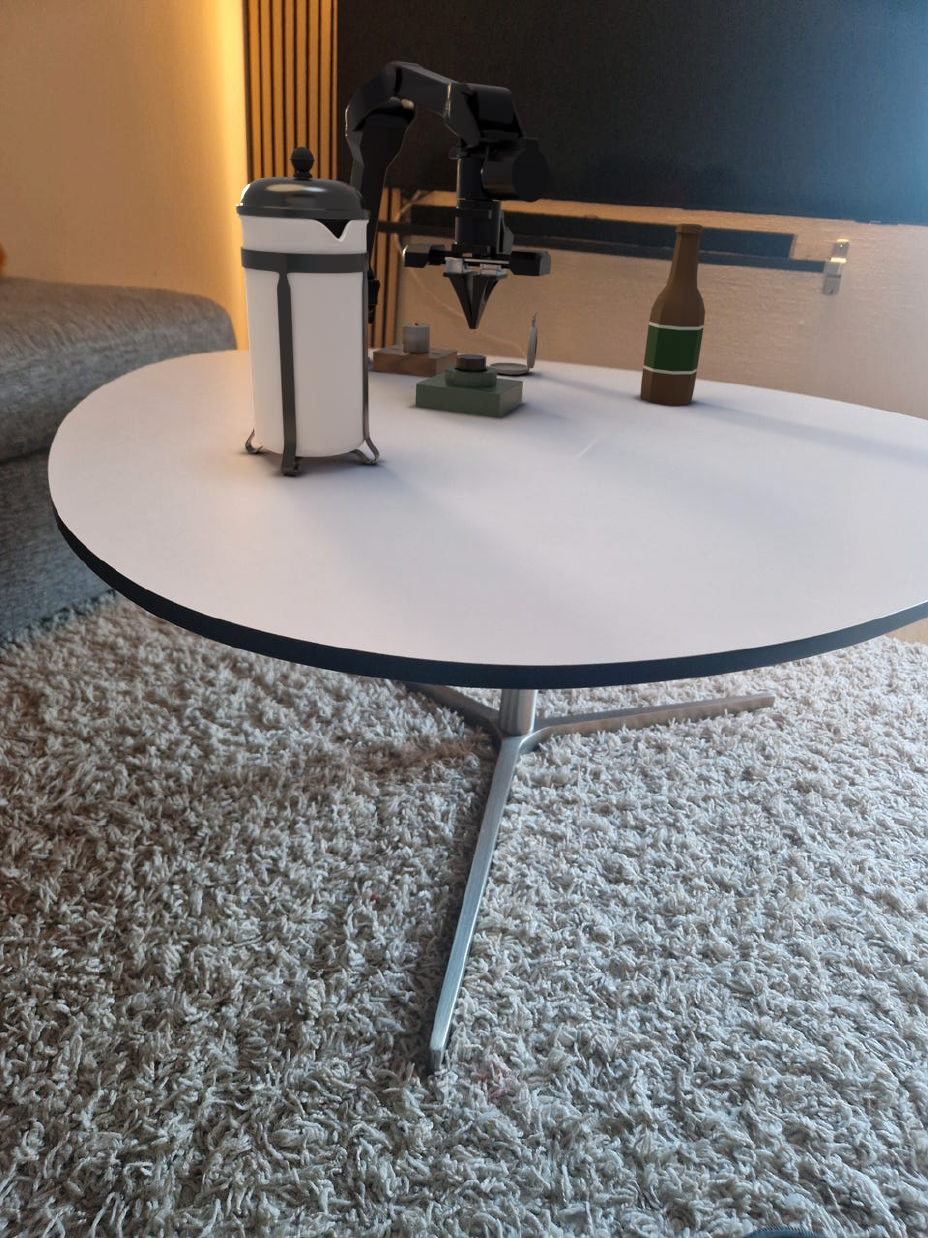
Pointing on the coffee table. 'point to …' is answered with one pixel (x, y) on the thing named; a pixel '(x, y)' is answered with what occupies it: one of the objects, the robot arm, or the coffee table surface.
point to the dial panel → (413, 361)
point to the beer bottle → (675, 327)
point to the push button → (471, 363)
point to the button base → (469, 392)
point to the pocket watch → (531, 355)
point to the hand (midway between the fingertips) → (473, 328)
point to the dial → (416, 338)
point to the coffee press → (307, 314)
